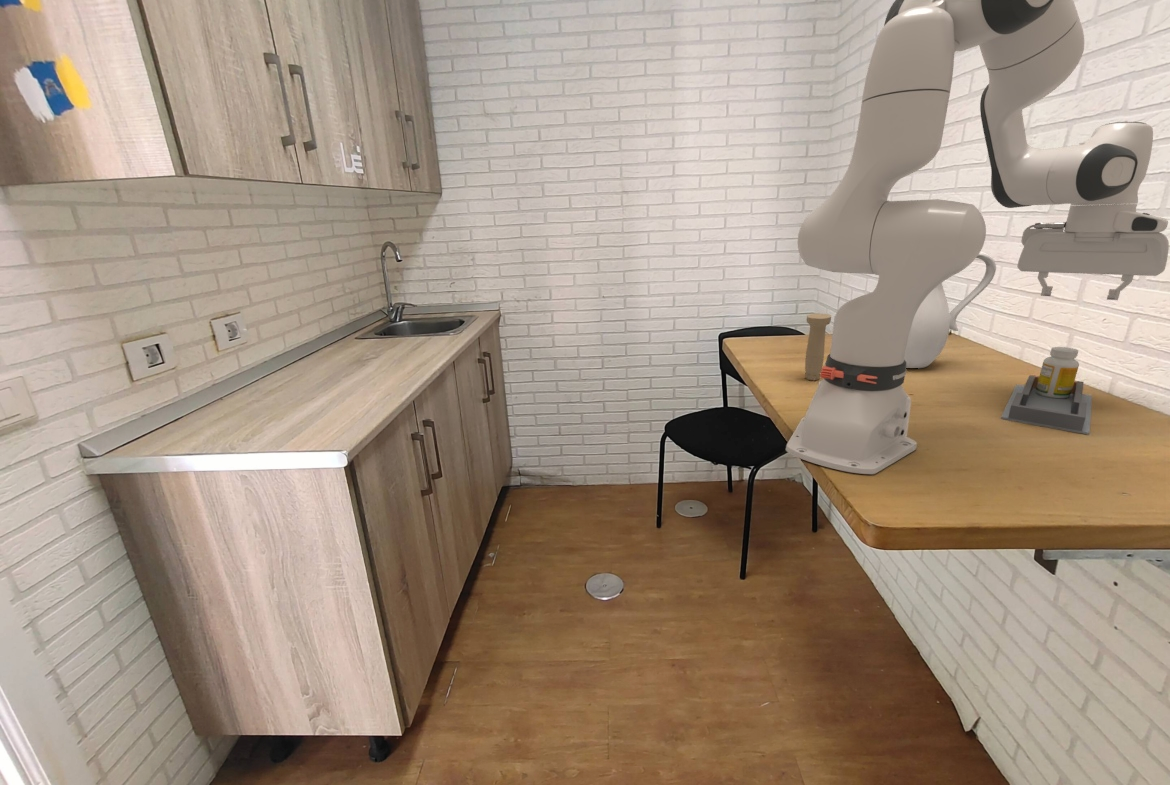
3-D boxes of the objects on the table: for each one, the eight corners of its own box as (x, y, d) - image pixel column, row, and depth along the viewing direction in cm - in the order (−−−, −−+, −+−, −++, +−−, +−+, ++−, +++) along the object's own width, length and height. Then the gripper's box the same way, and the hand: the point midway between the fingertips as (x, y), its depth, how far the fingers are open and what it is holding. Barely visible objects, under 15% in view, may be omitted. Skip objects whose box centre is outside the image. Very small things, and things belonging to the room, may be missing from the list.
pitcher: (867, 369, 128) (884, 253, 119) (862, 352, 143) (876, 247, 134) (985, 377, 119) (1012, 252, 110) (966, 358, 134) (989, 246, 125)
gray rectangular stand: (1089, 434, 89) (1093, 419, 88) (1000, 418, 97) (1004, 404, 96) (1091, 397, 105) (1095, 383, 104) (1016, 386, 113) (1019, 373, 112)
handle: (826, 376, 124) (833, 314, 119) (820, 384, 119) (827, 319, 114) (804, 374, 127) (810, 312, 122) (798, 381, 122) (804, 317, 117)
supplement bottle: (1032, 394, 106) (1043, 349, 103) (1038, 388, 110) (1050, 344, 106) (1066, 401, 102) (1080, 353, 99) (1072, 394, 106) (1085, 348, 102)
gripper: (1023, 223, 100) (1007, 295, 104) (1181, 221, 86) (1154, 304, 91) (1027, 222, 104) (1011, 291, 109) (1177, 220, 91) (1152, 299, 95)
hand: (1077, 297), depth 100 cm, fingers open, 8 cm apart
